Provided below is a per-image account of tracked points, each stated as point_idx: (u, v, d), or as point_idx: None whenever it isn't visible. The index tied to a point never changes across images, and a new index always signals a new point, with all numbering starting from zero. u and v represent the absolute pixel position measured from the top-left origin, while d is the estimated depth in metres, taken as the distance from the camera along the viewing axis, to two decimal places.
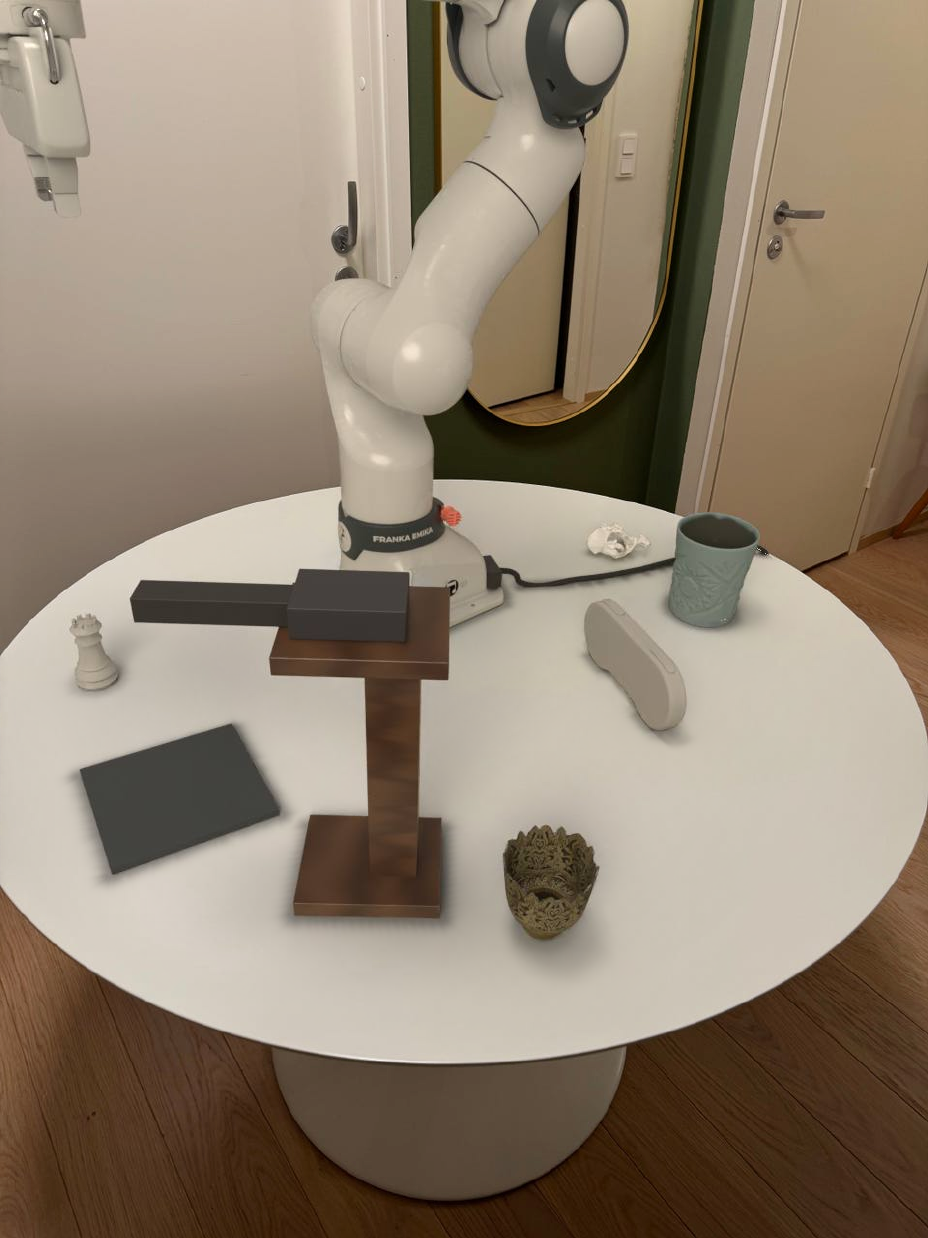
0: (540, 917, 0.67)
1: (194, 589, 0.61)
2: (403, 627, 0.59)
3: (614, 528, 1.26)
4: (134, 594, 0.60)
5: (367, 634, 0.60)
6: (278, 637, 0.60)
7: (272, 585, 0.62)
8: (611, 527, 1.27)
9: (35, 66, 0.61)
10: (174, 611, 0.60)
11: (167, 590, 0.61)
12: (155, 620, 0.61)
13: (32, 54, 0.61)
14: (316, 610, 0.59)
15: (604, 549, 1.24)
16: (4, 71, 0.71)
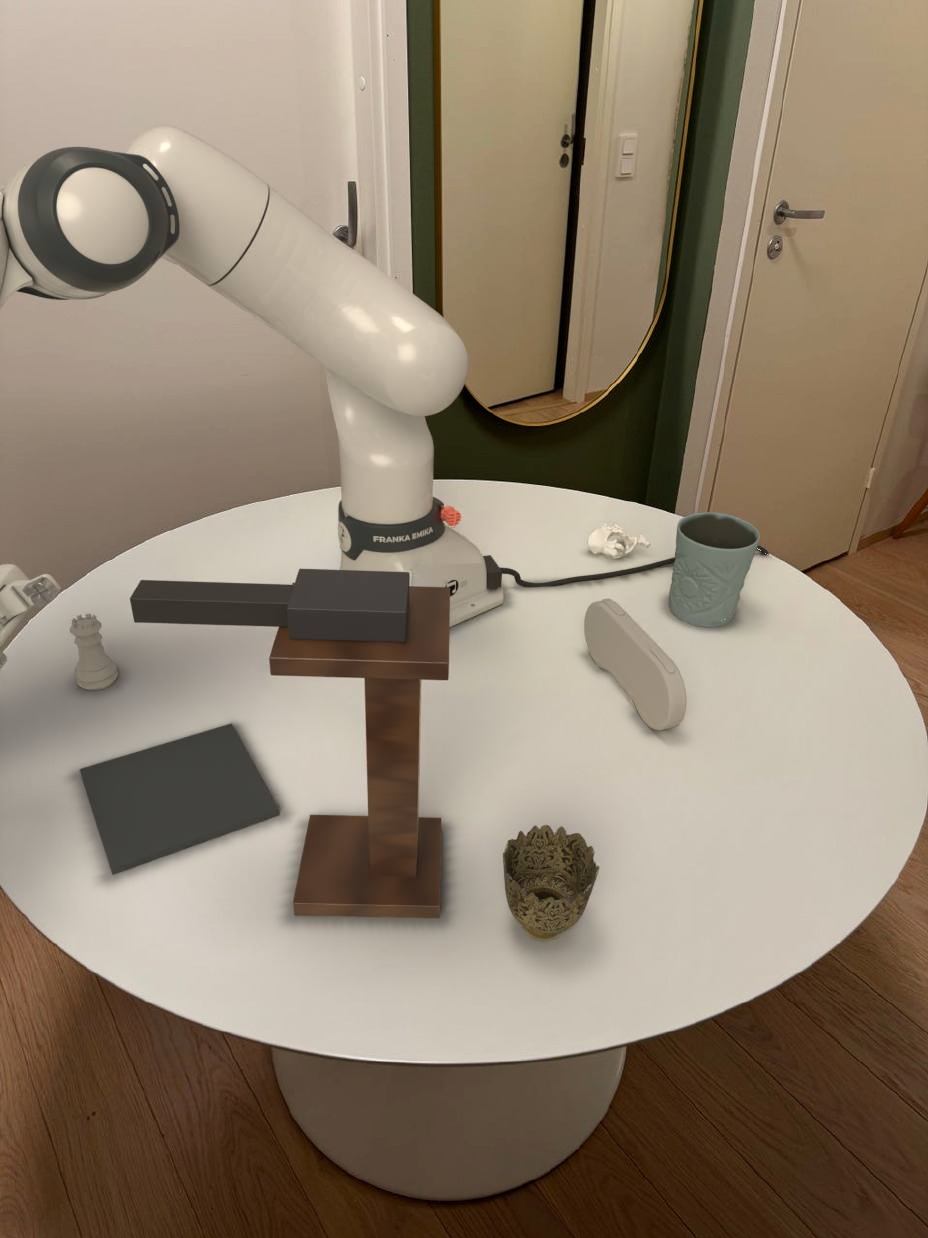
0: (540, 917, 0.67)
1: (194, 589, 0.61)
2: (403, 627, 0.59)
3: (614, 528, 1.26)
4: (134, 594, 0.60)
5: (367, 634, 0.60)
6: (278, 637, 0.60)
7: (272, 585, 0.62)
8: (611, 527, 1.27)
9: None
10: (174, 611, 0.60)
11: (167, 590, 0.61)
12: (155, 620, 0.61)
13: None
14: (316, 610, 0.59)
15: (604, 549, 1.24)
16: None
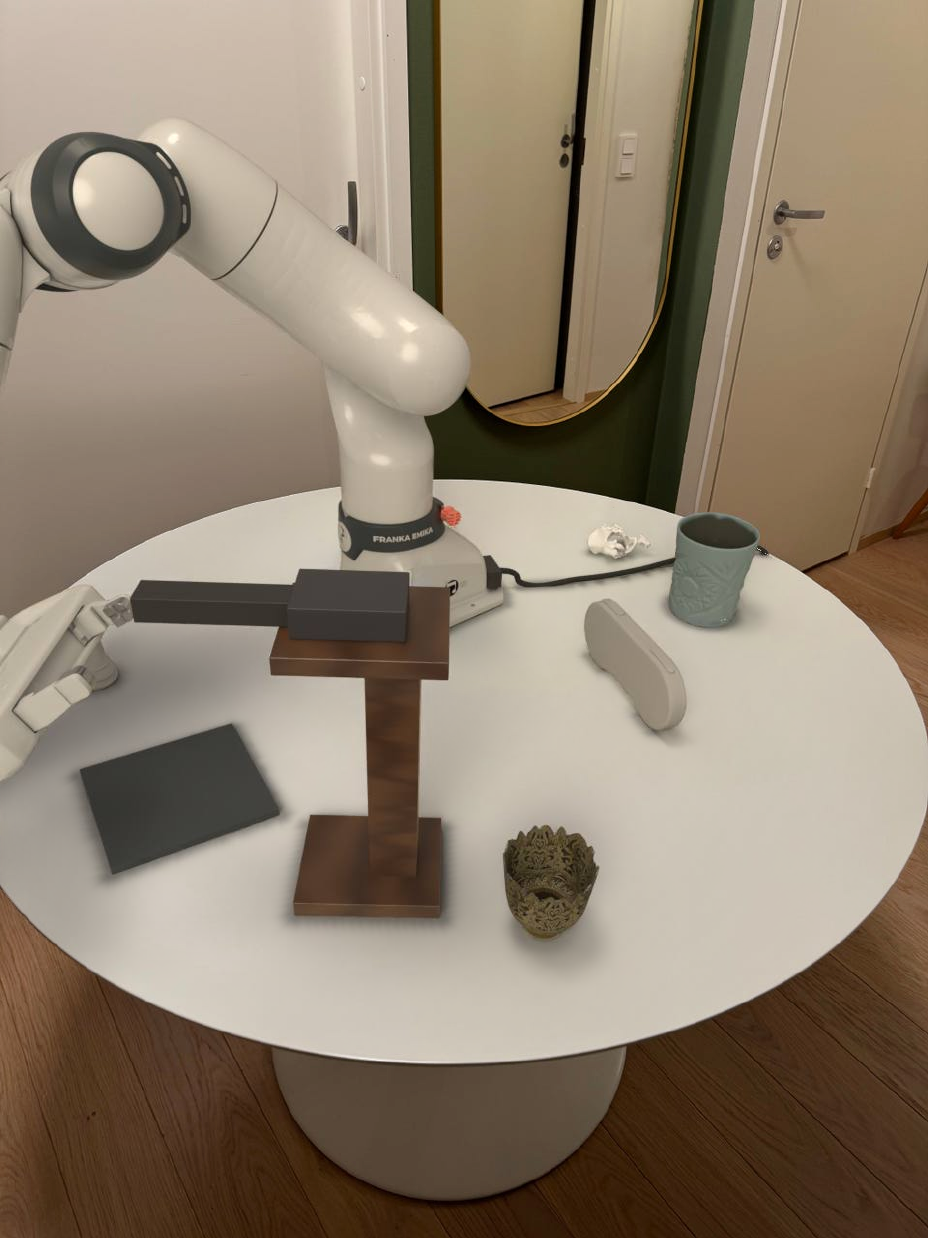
0: (540, 917, 0.67)
1: (194, 589, 0.61)
2: (403, 627, 0.59)
3: (614, 528, 1.26)
4: (134, 594, 0.60)
5: (367, 634, 0.60)
6: (278, 637, 0.60)
7: (272, 585, 0.62)
8: (611, 527, 1.27)
9: None
10: (174, 611, 0.60)
11: (167, 590, 0.61)
12: (155, 620, 0.61)
13: None
14: (316, 610, 0.59)
15: (604, 549, 1.24)
16: None
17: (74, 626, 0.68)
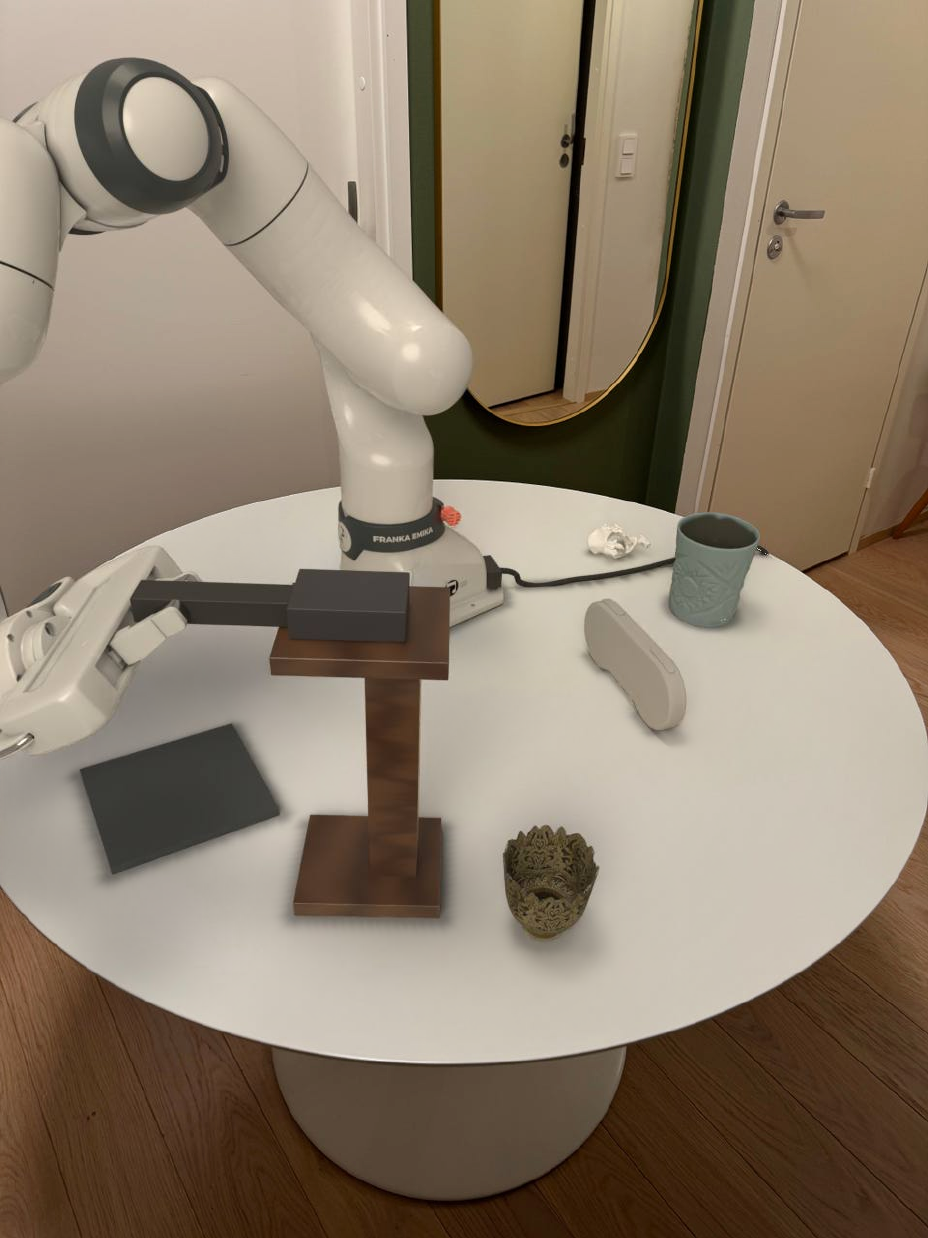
0: (540, 917, 0.67)
1: (194, 589, 0.61)
2: (403, 627, 0.59)
3: (614, 528, 1.26)
4: (134, 594, 0.60)
5: (367, 634, 0.60)
6: (278, 637, 0.60)
7: (272, 585, 0.62)
8: (611, 527, 1.27)
9: (33, 749, 0.56)
10: None
11: (167, 590, 0.61)
12: None
13: (26, 751, 0.57)
14: (316, 610, 0.59)
15: (604, 549, 1.24)
16: None
17: None
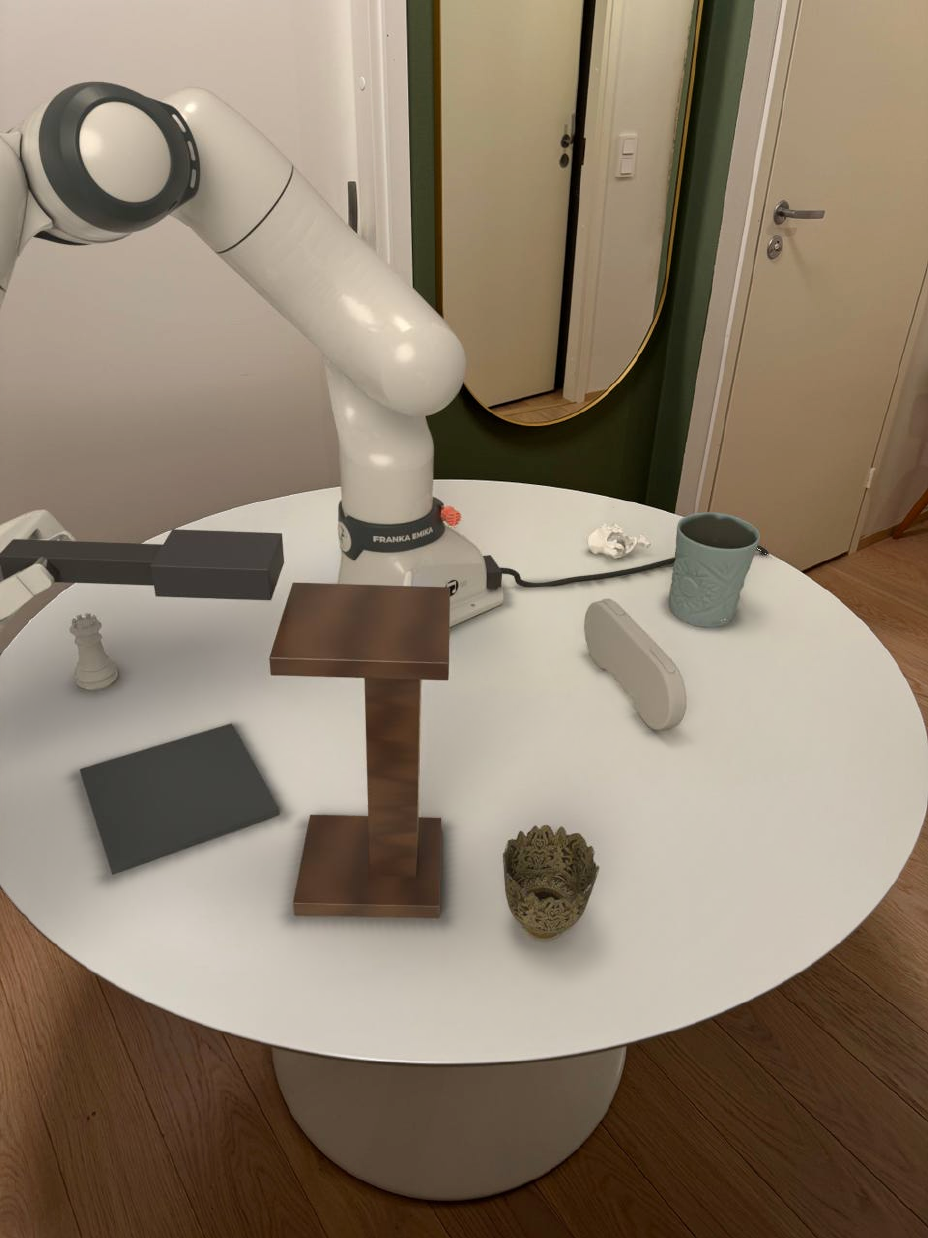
0: (540, 917, 0.67)
1: (64, 548, 0.62)
2: (267, 585, 0.60)
3: (614, 528, 1.26)
4: (3, 552, 0.61)
5: (232, 592, 0.60)
6: (278, 637, 0.60)
7: (143, 544, 0.63)
8: (611, 527, 1.27)
9: None
10: None
11: (37, 548, 0.61)
12: None
13: None
14: (179, 567, 0.59)
15: (604, 549, 1.24)
16: None
17: None
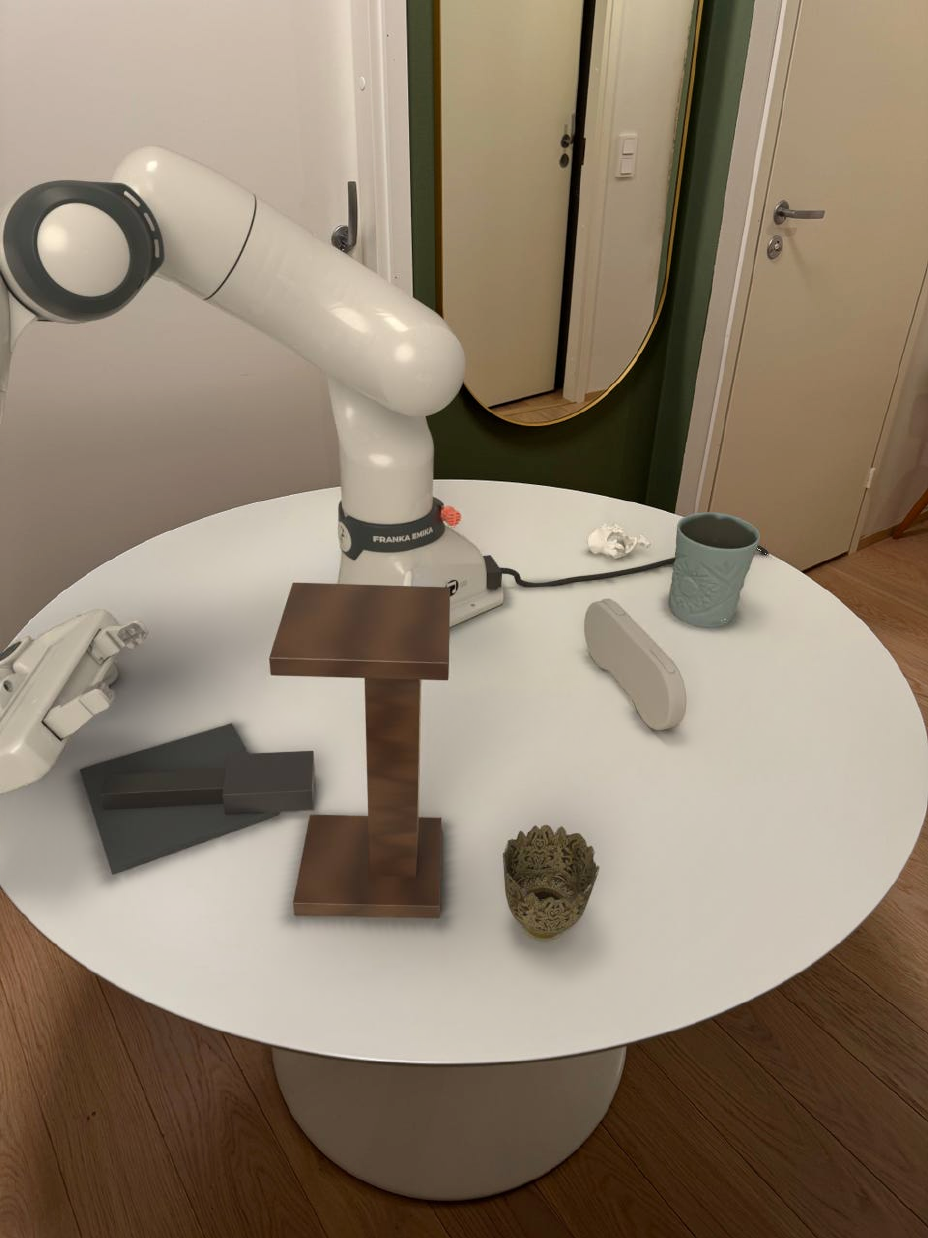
0: (540, 917, 0.67)
1: (149, 780, 0.81)
2: (310, 800, 0.80)
3: (614, 528, 1.26)
4: (103, 789, 0.79)
5: (284, 807, 0.80)
6: (278, 637, 0.60)
7: (209, 771, 0.82)
8: (611, 527, 1.27)
9: None
10: (135, 800, 0.80)
11: (128, 783, 0.80)
12: (120, 807, 0.80)
13: None
14: (244, 794, 0.79)
15: (604, 549, 1.24)
16: None
17: (92, 647, 0.78)
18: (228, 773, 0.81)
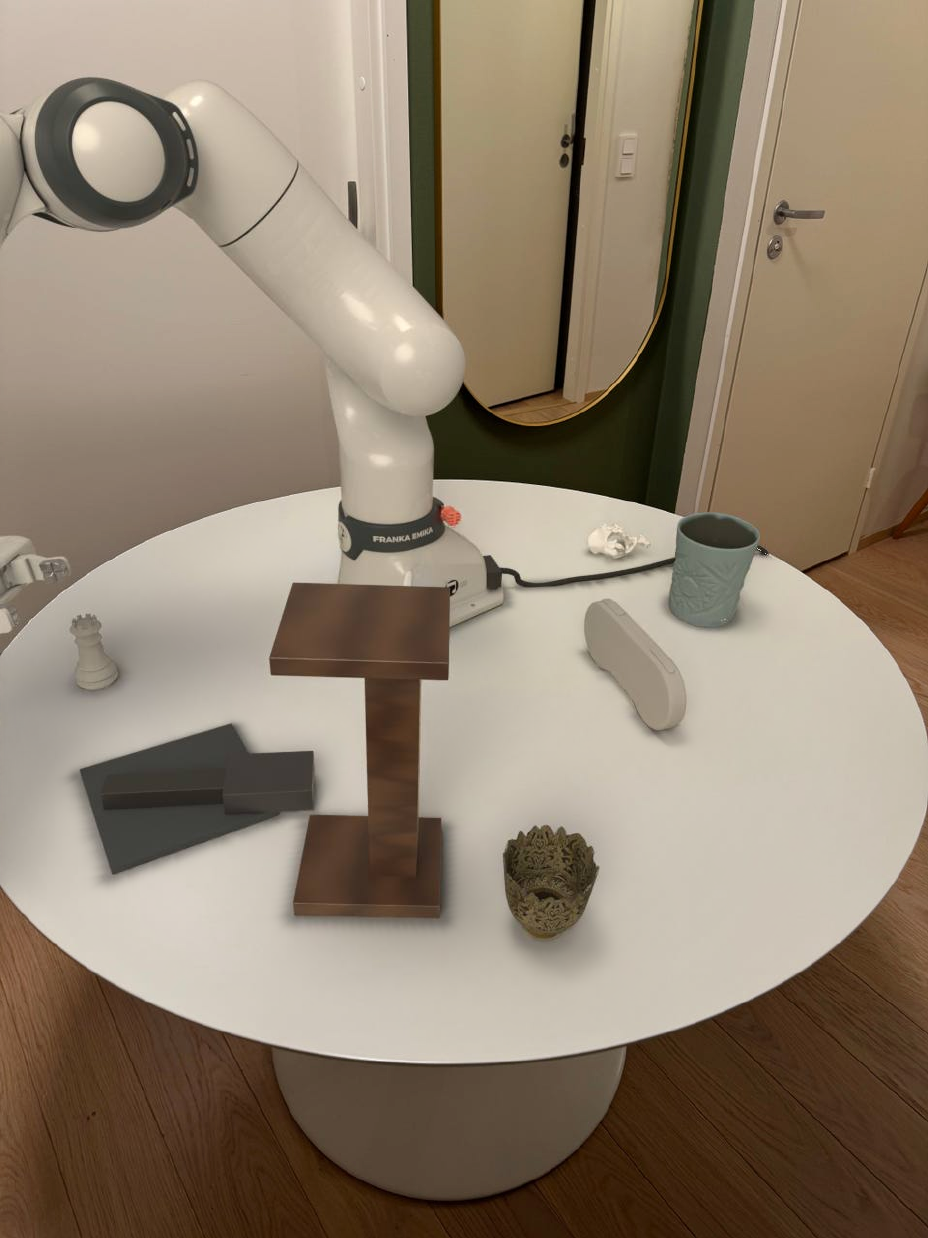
0: (540, 917, 0.67)
1: (149, 780, 0.81)
2: (310, 800, 0.80)
3: (614, 528, 1.26)
4: (103, 789, 0.79)
5: (284, 807, 0.80)
6: (278, 637, 0.60)
7: (209, 771, 0.82)
8: (611, 527, 1.27)
9: None
10: (135, 800, 0.80)
11: (128, 783, 0.80)
12: (120, 807, 0.80)
13: None
14: (244, 794, 0.79)
15: (604, 549, 1.24)
16: None
17: (5, 569, 0.73)
18: (228, 773, 0.81)
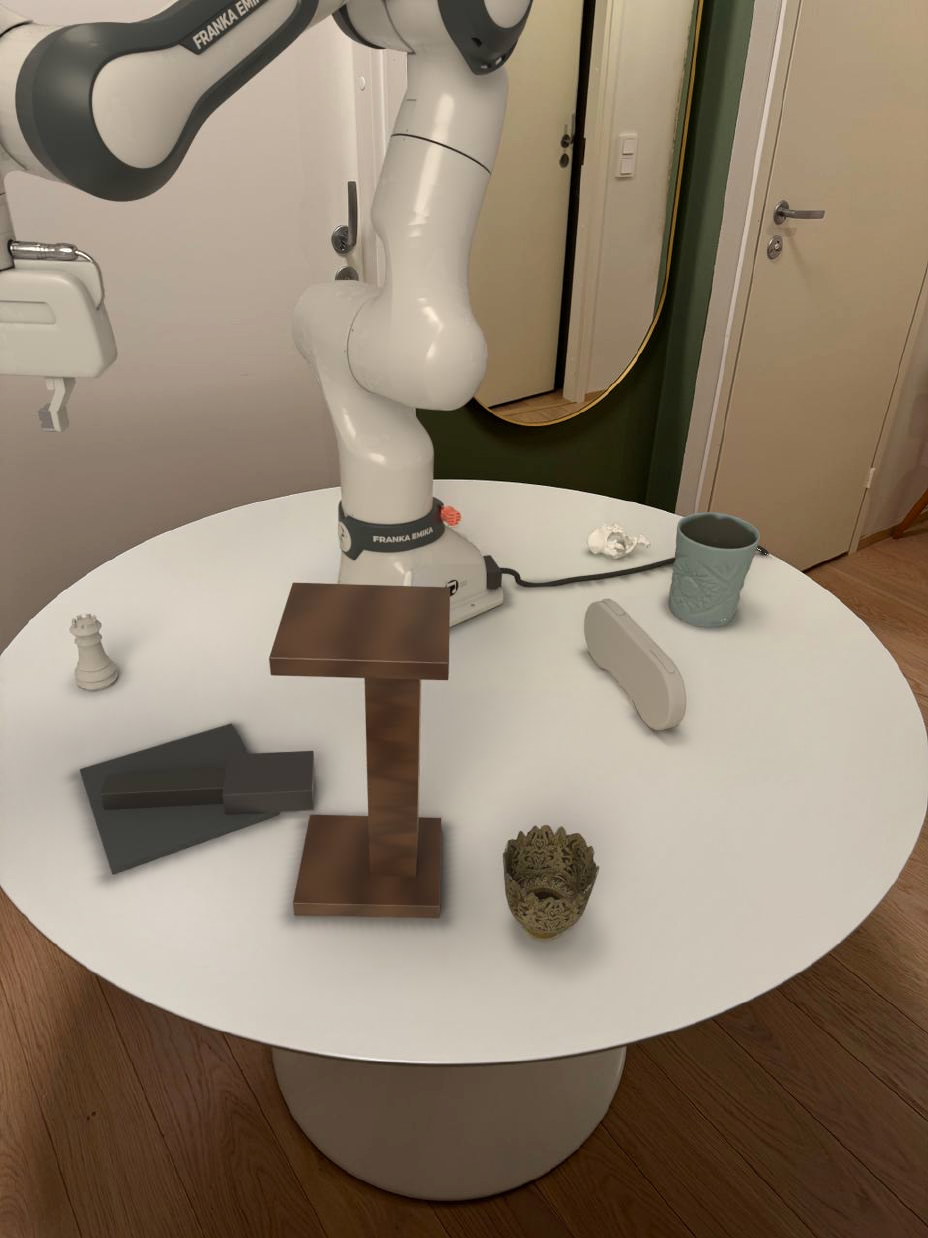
0: (540, 917, 0.67)
1: (149, 780, 0.81)
2: (310, 800, 0.80)
3: (614, 528, 1.26)
4: (103, 789, 0.79)
5: (284, 807, 0.80)
6: (278, 637, 0.60)
7: (209, 771, 0.82)
8: (611, 527, 1.27)
9: (87, 298, 0.63)
10: (135, 800, 0.80)
11: (128, 783, 0.80)
12: (120, 807, 0.80)
13: (82, 288, 0.62)
14: (244, 794, 0.79)
15: (604, 549, 1.24)
16: None
17: None
18: (228, 773, 0.81)
